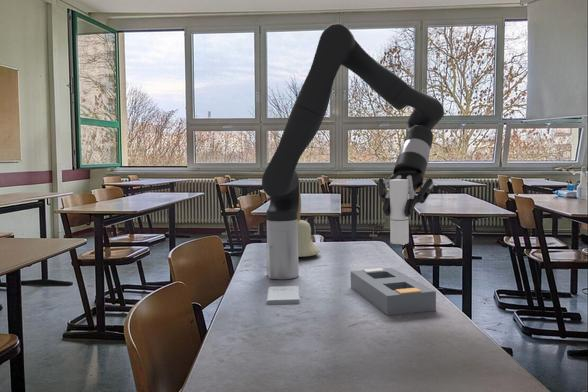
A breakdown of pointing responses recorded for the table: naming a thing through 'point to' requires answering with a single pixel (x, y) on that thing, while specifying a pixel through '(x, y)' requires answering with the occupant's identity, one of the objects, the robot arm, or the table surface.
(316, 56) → the robot arm
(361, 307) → the table surface
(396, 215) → the tube
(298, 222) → the handbell
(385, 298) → the socket block
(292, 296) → the external hard drive
